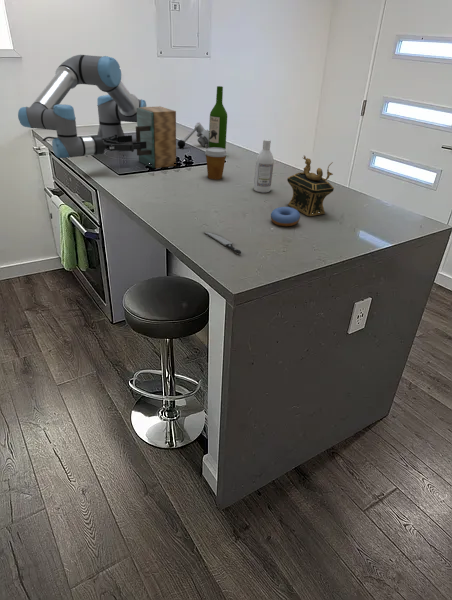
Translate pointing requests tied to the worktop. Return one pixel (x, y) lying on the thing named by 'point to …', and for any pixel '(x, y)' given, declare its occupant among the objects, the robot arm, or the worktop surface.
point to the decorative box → (309, 190)
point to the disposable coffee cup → (215, 162)
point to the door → (145, 136)
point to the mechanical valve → (200, 133)
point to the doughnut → (285, 216)
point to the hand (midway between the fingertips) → (138, 141)
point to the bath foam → (264, 168)
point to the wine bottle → (218, 122)
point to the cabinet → (164, 136)
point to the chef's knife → (223, 242)
